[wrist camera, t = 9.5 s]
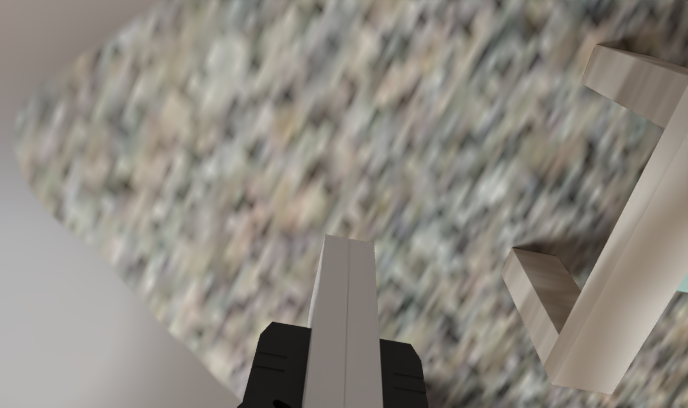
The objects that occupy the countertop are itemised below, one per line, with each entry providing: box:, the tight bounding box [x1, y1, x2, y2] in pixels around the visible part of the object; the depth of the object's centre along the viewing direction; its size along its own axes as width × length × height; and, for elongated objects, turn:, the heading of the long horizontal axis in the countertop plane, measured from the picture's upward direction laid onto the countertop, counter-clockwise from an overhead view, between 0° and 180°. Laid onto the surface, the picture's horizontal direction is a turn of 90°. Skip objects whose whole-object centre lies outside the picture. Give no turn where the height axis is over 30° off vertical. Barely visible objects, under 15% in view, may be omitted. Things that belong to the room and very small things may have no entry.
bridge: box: [501, 44, 688, 395], centre depth 24 cm, size 3×14×9 cm, turn 169°
